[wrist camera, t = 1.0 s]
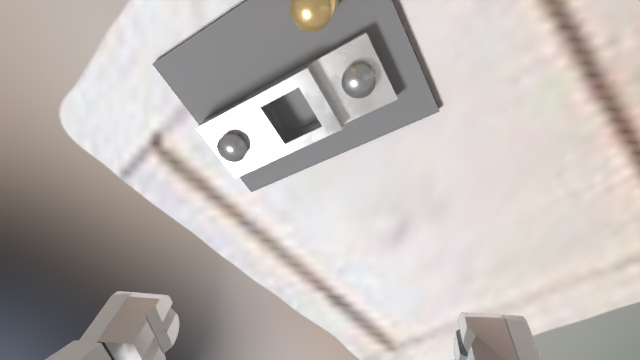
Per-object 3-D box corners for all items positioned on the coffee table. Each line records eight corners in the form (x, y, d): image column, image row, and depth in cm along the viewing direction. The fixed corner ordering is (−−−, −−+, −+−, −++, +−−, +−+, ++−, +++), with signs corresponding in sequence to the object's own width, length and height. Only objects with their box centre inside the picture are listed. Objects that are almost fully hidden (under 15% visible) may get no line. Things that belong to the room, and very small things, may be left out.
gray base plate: (359, -76, 31) (359, -76, 30) (438, 109, 39) (439, 111, 38) (155, 62, 40) (152, 63, 39) (252, 189, 47) (251, 192, 47)
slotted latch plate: (366, 29, 35) (365, 38, 32) (397, 94, 38) (398, 107, 35) (204, 119, 42) (192, 132, 39) (241, 167, 45) (232, 182, 42)
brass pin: (330, -33, 32) (318, -22, 26) (346, 1, 34) (338, 19, 27) (301, -14, 33) (281, 1, 27) (317, 18, 35) (303, 39, 28)
